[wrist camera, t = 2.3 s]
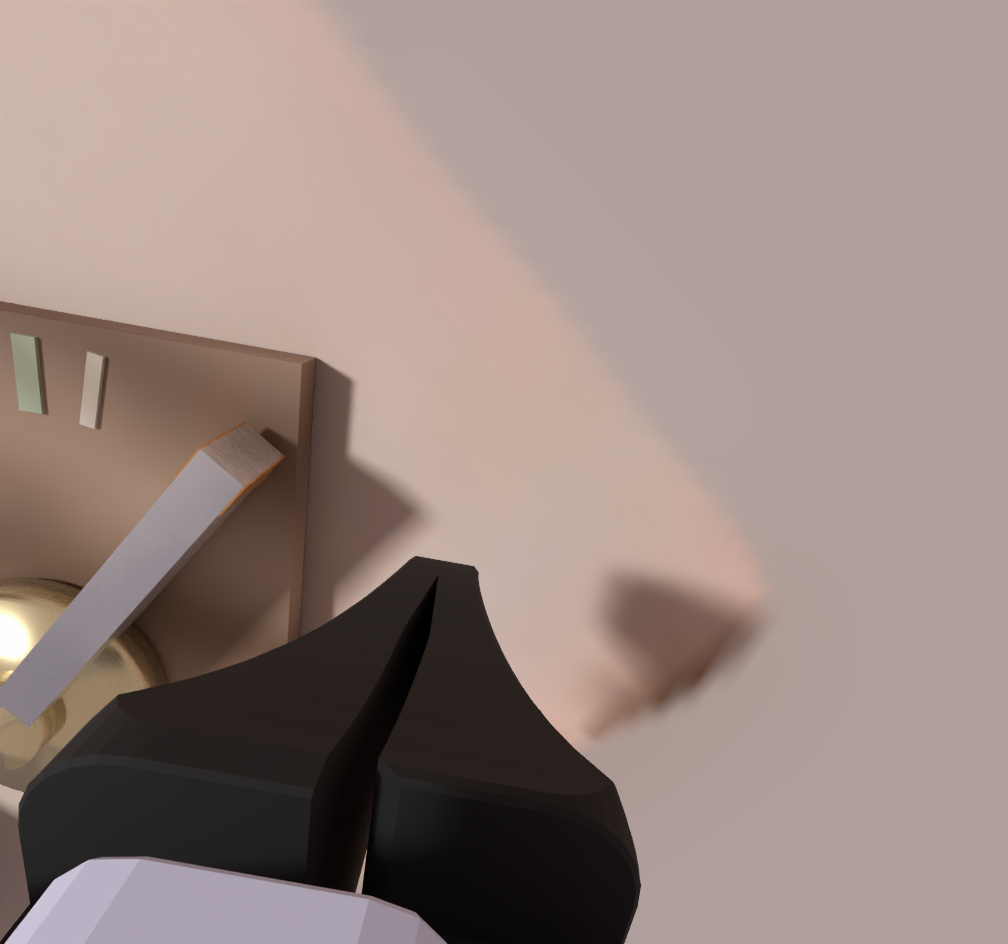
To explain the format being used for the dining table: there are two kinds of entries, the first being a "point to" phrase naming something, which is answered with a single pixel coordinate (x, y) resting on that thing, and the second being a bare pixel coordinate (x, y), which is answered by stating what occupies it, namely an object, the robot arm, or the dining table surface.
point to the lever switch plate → (153, 472)
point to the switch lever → (109, 609)
